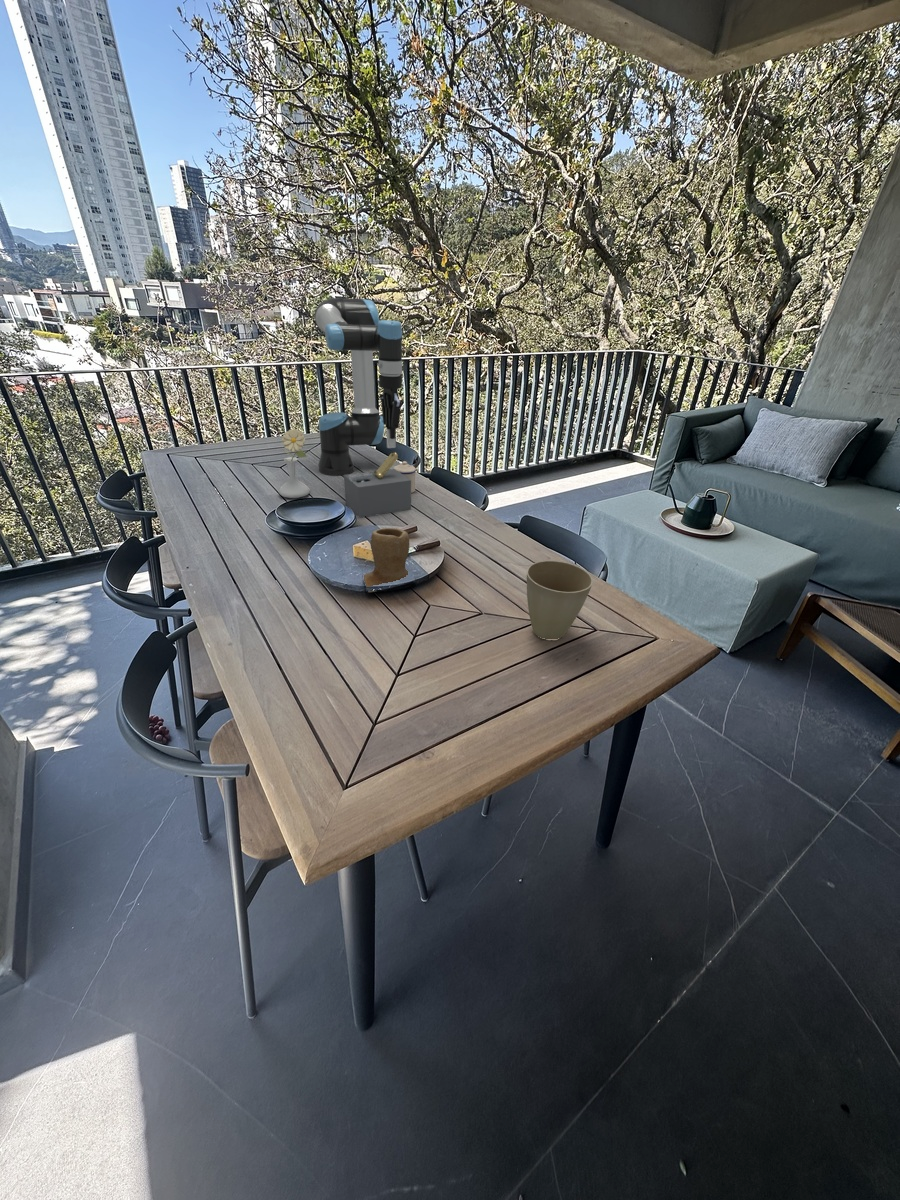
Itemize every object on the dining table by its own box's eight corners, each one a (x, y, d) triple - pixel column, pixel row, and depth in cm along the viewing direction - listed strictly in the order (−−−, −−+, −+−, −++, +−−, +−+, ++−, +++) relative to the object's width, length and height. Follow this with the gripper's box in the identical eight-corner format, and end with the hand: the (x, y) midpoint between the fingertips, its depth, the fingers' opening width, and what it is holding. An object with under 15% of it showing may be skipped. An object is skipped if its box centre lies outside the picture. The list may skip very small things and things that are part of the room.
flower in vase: (272, 497, 187) (262, 428, 173) (291, 488, 196) (283, 422, 182) (301, 503, 183) (294, 434, 169) (319, 494, 192) (313, 427, 178)
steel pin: (350, 506, 180) (348, 474, 174) (370, 503, 184) (369, 472, 178) (353, 509, 178) (351, 477, 172) (374, 505, 182) (373, 474, 176)
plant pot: (566, 659, 113) (579, 599, 104) (507, 636, 119) (515, 578, 111) (588, 628, 124) (601, 572, 115) (533, 608, 130) (542, 554, 121)
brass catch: (376, 476, 180) (373, 473, 179) (395, 453, 180) (392, 450, 178) (381, 479, 177) (378, 477, 176) (400, 456, 176) (397, 453, 175)
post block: (345, 503, 185) (343, 474, 179) (394, 496, 194) (394, 468, 188) (359, 517, 175) (358, 487, 169) (410, 509, 183) (411, 480, 178)
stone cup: (402, 567, 145) (403, 519, 137) (420, 586, 137) (422, 536, 129) (353, 578, 139) (350, 528, 131) (368, 598, 130) (366, 546, 122)
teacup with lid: (410, 485, 205) (411, 457, 199) (419, 493, 198) (419, 464, 192) (383, 488, 201) (382, 460, 194) (390, 496, 194) (390, 466, 187)
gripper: (371, 371, 166) (374, 443, 178) (387, 378, 156) (389, 453, 169) (392, 371, 169) (393, 441, 182) (409, 377, 160) (408, 451, 172)
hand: (391, 447), depth 175 cm, fingers closed
